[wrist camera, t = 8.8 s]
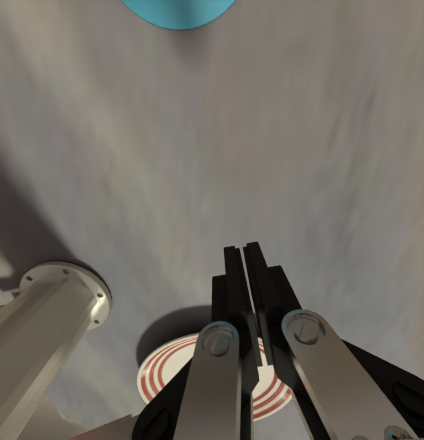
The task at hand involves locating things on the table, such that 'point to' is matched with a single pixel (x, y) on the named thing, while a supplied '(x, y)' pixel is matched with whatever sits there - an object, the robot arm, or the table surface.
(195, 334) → the dinner plate
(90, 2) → the table surface
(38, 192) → the table surface
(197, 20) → the disc
